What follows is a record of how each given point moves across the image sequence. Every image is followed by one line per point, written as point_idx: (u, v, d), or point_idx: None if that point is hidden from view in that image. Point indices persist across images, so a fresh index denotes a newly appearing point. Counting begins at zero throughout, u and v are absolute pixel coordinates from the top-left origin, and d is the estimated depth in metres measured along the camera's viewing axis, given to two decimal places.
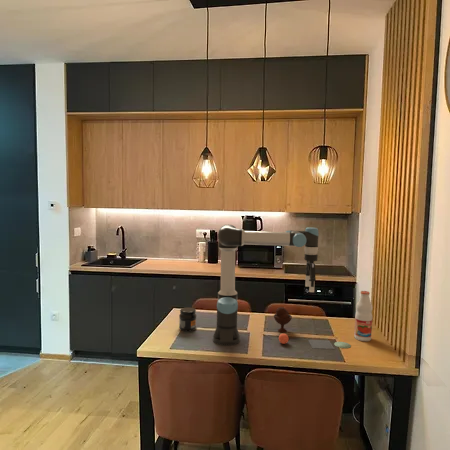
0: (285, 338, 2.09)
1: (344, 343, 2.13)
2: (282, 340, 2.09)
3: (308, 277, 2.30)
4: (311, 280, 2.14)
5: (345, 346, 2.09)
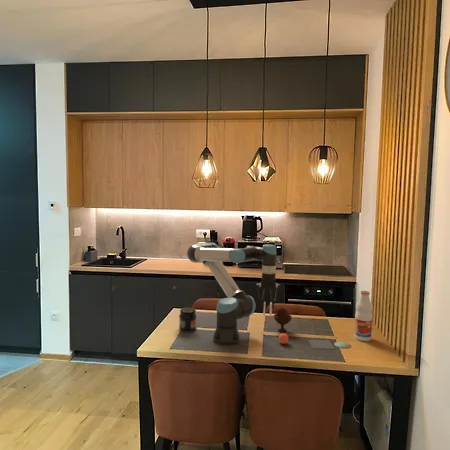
0: (285, 338, 2.09)
1: (344, 343, 2.13)
2: (282, 340, 2.09)
3: (270, 304, 2.10)
4: (259, 300, 2.11)
5: (345, 346, 2.09)
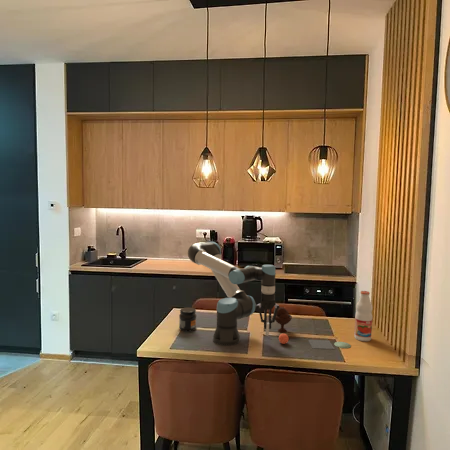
0: (285, 338, 2.09)
1: (344, 343, 2.13)
2: (282, 340, 2.09)
3: None
4: None
5: (345, 346, 2.09)
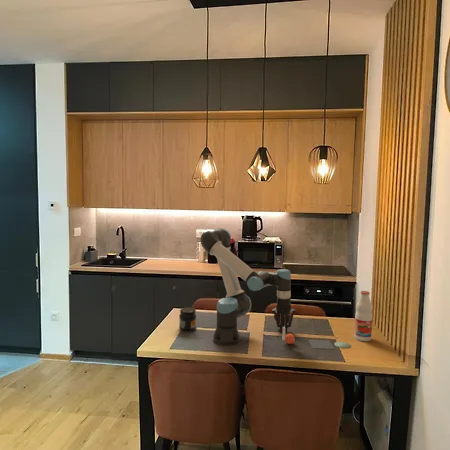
0: (292, 340, 2.09)
1: (344, 343, 2.13)
2: (289, 339, 2.09)
3: None
4: None
5: (345, 346, 2.09)
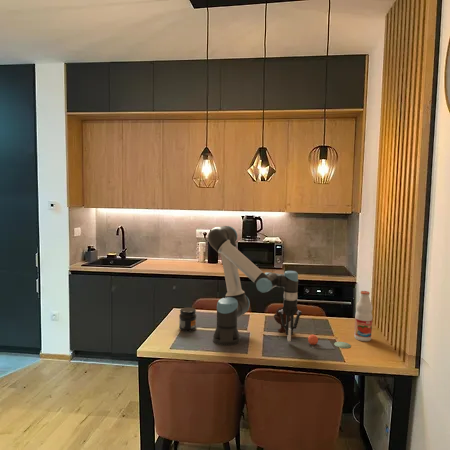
0: (314, 339, 2.08)
1: (344, 343, 2.13)
2: (312, 342, 2.08)
3: None
4: (283, 326, 2.12)
5: (345, 346, 2.09)
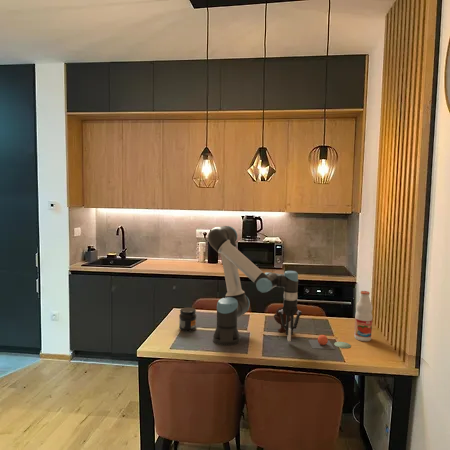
0: (325, 342, 2.08)
1: (344, 343, 2.13)
2: (323, 340, 2.08)
3: None
4: (283, 326, 2.12)
5: (345, 346, 2.09)
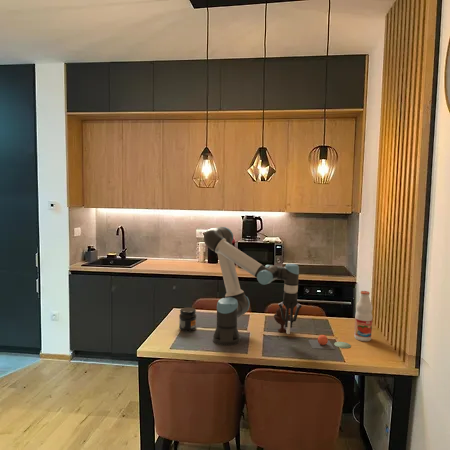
0: (325, 342, 2.08)
1: (344, 343, 2.13)
2: (323, 340, 2.08)
3: None
4: None
5: (345, 346, 2.09)
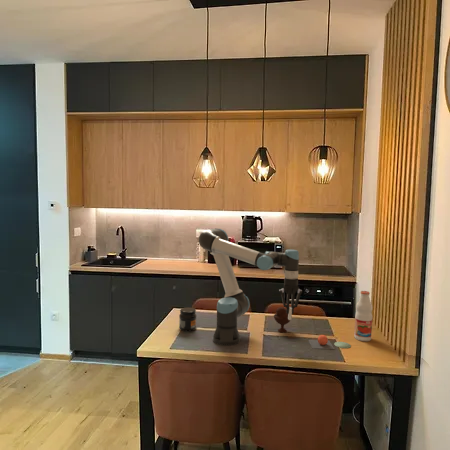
0: (325, 342, 2.08)
1: (344, 343, 2.13)
2: (323, 340, 2.08)
3: None
4: (284, 306, 2.11)
5: (345, 346, 2.09)
